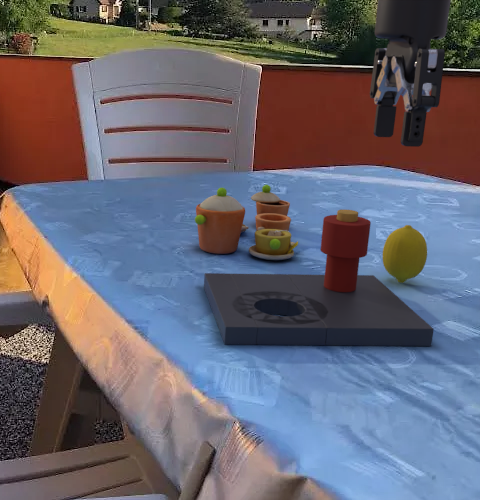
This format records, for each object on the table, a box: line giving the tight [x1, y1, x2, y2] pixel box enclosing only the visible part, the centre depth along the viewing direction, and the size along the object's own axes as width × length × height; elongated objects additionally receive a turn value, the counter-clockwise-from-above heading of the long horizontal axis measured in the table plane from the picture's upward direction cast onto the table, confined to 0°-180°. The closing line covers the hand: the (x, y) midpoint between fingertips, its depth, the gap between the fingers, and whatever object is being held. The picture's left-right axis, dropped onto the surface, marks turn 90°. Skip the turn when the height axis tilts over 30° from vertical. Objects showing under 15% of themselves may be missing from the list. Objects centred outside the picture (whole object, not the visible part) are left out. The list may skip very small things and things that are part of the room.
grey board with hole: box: [203, 272, 434, 347], centre depth 83 cm, size 22×18×2 cm
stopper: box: [320, 209, 372, 292], centre depth 85 cm, size 5×5×10 cm
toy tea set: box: [194, 184, 299, 261], centre depth 113 cm, size 26×16×10 cm, turn 168°
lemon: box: [382, 224, 428, 284], centre depth 94 cm, size 6×6×8 cm
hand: (396, 141), depth 83 cm, fingers open, 8 cm apart
